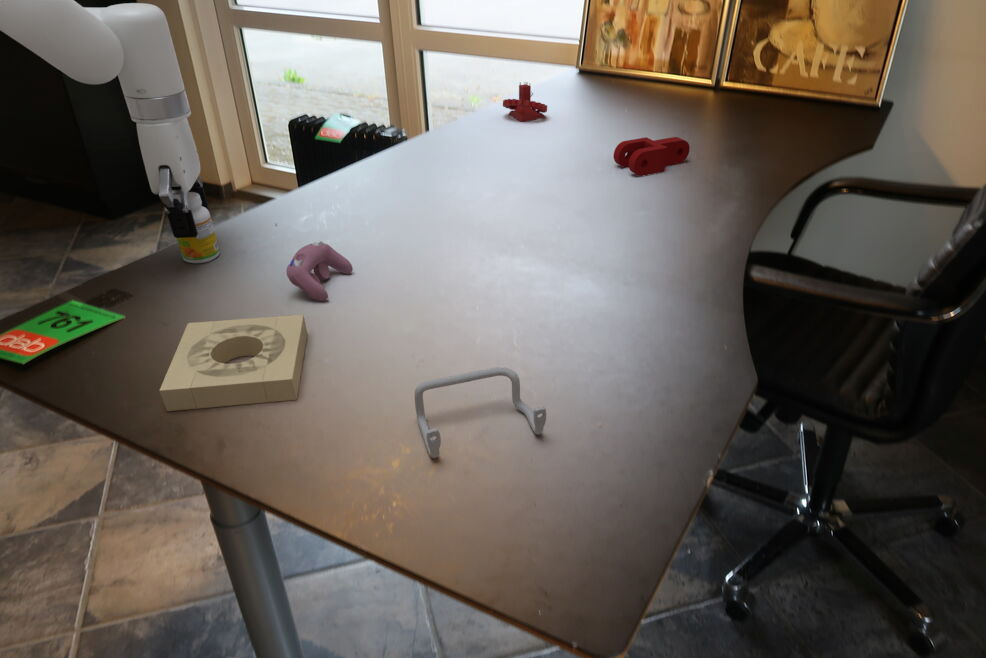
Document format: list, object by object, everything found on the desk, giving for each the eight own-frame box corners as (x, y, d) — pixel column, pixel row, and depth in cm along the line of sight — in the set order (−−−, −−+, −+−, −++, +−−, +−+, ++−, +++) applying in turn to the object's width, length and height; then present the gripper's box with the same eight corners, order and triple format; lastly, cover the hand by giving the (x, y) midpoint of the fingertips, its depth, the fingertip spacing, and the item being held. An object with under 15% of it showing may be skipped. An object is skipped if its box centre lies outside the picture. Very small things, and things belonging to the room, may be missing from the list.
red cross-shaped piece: (552, 112, 176) (553, 77, 172) (541, 126, 167) (542, 89, 162) (511, 108, 178) (511, 74, 173) (497, 122, 169) (497, 86, 164)
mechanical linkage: (632, 178, 140) (635, 153, 137) (612, 166, 145) (614, 142, 143) (695, 165, 147) (698, 141, 144) (673, 155, 152) (676, 132, 149)
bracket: (429, 466, 73) (426, 431, 69) (414, 416, 78) (410, 382, 75) (546, 439, 76) (548, 405, 73) (523, 393, 82) (523, 359, 79)
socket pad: (166, 411, 78) (159, 390, 77) (194, 342, 90) (187, 322, 88) (296, 399, 81) (292, 378, 79) (307, 334, 92) (303, 314, 90)
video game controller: (334, 277, 107) (308, 238, 104) (357, 269, 106) (331, 228, 102) (303, 310, 99) (274, 268, 96) (328, 301, 98) (299, 258, 95)
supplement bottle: (175, 257, 108) (157, 198, 103) (206, 245, 112) (190, 187, 107) (196, 267, 106) (178, 207, 100) (227, 254, 110) (212, 195, 104)
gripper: (146, 89, 102) (179, 203, 112) (109, 125, 88) (150, 252, 98) (201, 88, 103) (229, 200, 114) (172, 123, 89) (207, 248, 100)
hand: (192, 223), depth 106 cm, fingers open, 7 cm apart
